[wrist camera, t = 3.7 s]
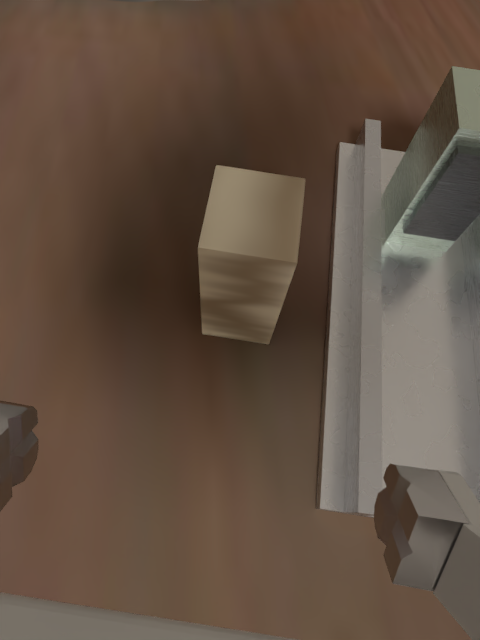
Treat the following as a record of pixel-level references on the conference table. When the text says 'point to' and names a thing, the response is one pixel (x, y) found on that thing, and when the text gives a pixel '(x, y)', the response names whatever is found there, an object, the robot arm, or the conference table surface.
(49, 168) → the conference table surface
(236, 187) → the wooden block
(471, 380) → the rail
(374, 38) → the conference table surface
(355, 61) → the conference table surface
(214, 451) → the conference table surface
